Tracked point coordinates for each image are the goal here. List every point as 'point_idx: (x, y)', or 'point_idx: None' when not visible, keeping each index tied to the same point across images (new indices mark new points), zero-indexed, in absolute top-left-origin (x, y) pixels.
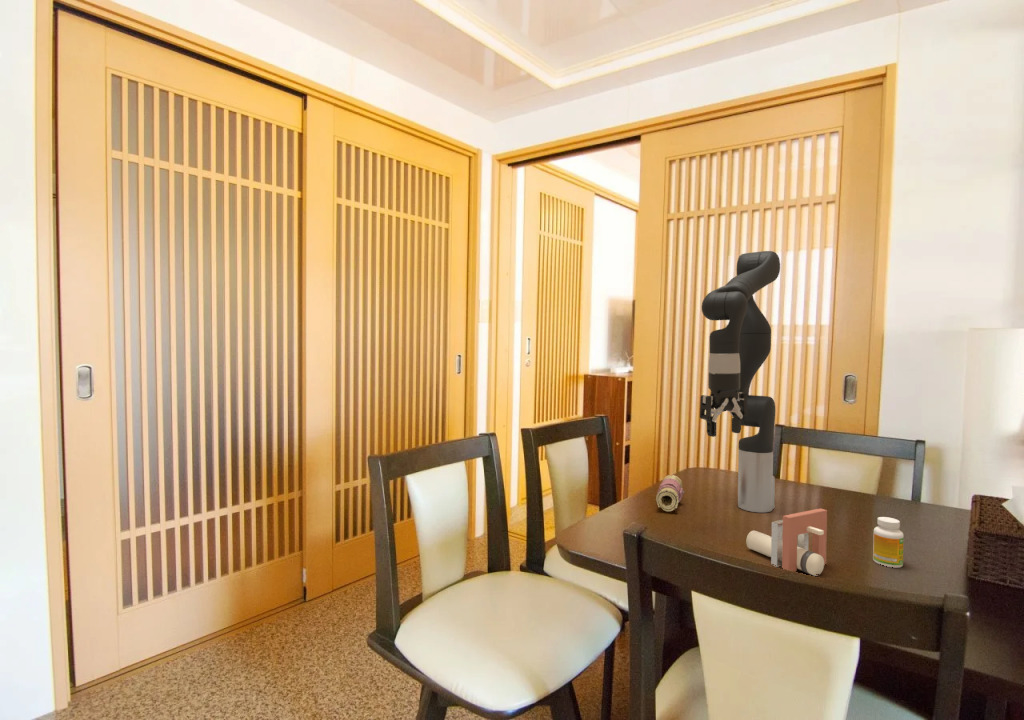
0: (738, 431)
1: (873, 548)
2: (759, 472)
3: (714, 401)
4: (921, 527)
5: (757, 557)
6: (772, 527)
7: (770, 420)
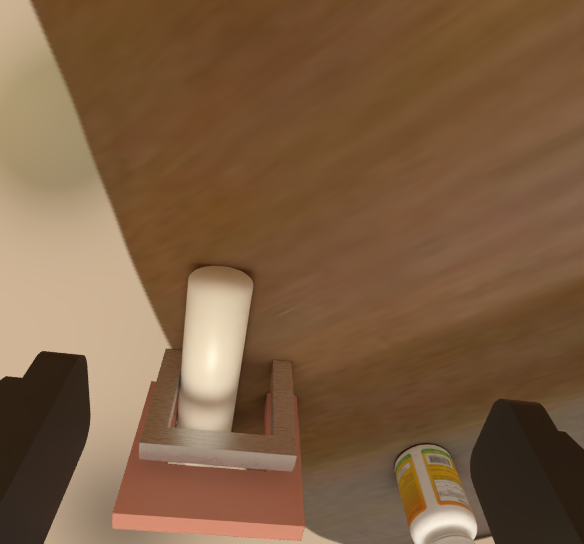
0: (474, 485)
1: (418, 471)
2: None
3: None
4: None
5: (177, 305)
6: (143, 430)
7: None
